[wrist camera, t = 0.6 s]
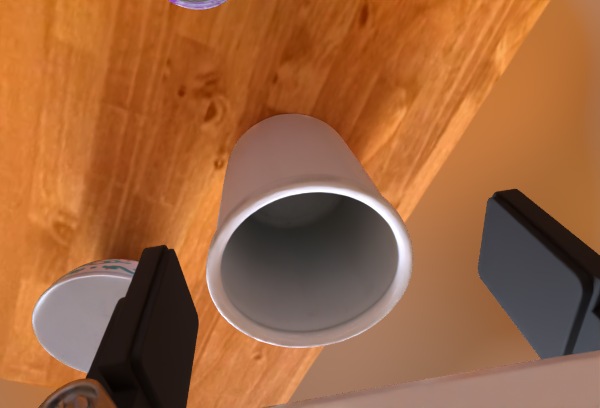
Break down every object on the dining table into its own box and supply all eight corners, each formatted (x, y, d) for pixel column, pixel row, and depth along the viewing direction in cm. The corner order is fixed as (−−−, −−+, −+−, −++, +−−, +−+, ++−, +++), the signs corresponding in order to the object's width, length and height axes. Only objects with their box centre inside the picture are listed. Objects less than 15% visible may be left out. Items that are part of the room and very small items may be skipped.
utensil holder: (289, 72, 38) (313, 136, 23) (385, 167, 44) (454, 266, 29) (193, 176, 42) (160, 288, 27) (293, 249, 48) (312, 373, 33)
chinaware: (182, 332, 53) (172, 383, 47) (61, 316, 50) (31, 368, 43) (204, 244, 46) (196, 289, 40) (66, 217, 43) (31, 261, 36)
